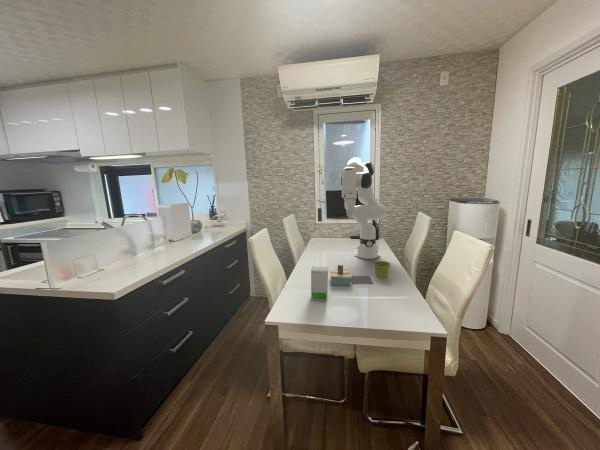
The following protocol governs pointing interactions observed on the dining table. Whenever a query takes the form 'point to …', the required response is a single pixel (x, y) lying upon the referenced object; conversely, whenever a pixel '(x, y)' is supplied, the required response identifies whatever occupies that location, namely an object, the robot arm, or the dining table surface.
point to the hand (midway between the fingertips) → (349, 217)
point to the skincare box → (319, 283)
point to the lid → (340, 273)
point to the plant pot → (381, 269)
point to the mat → (361, 280)
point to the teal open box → (341, 282)
